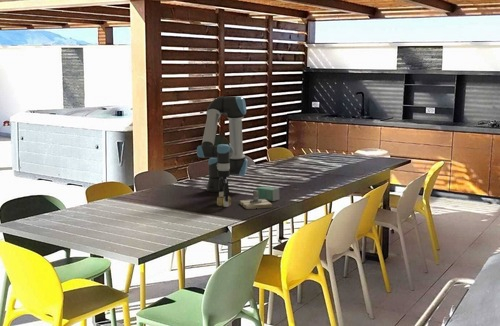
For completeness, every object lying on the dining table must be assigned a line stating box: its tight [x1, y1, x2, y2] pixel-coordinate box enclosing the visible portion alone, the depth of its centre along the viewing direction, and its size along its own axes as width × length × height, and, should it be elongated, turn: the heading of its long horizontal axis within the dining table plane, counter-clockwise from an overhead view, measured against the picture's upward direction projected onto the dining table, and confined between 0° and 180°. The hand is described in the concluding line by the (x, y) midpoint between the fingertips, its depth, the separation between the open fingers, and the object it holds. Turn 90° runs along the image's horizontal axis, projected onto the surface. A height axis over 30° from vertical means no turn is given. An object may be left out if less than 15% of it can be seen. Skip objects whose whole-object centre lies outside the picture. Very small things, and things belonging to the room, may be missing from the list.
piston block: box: [239, 189, 273, 210], centre depth 361 cm, size 16×16×9 cm
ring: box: [216, 195, 232, 207], centre depth 365 cm, size 8×8×4 cm
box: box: [255, 186, 280, 202], centre depth 380 cm, size 7×14×8 cm, turn 52°
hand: (223, 204), depth 365 cm, fingers open, 13 cm apart
